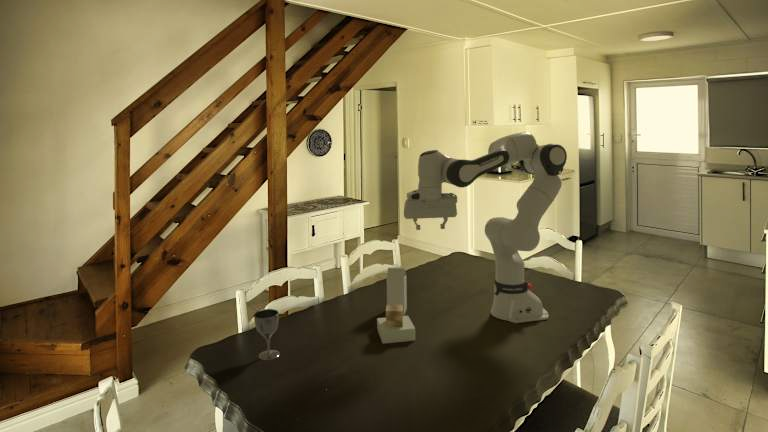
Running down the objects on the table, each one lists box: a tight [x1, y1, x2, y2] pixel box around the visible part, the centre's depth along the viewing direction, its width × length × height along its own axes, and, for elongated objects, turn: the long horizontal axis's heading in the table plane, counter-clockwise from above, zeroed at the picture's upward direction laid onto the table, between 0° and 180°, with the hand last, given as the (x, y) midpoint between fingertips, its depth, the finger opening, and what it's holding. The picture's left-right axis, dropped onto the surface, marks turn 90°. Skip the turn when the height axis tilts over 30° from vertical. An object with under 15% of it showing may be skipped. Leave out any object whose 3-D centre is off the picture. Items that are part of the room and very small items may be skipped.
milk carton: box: [386, 267, 408, 316], centre depth 192 cm, size 7×7×19 cm
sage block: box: [376, 315, 416, 344], centre depth 172 cm, size 12×12×5 cm
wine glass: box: [253, 308, 281, 361], centre depth 158 cm, size 8×8×15 cm
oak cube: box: [385, 304, 404, 327], centre depth 171 cm, size 6×6×6 cm
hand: (430, 229), depth 179 cm, fingers open, 8 cm apart
